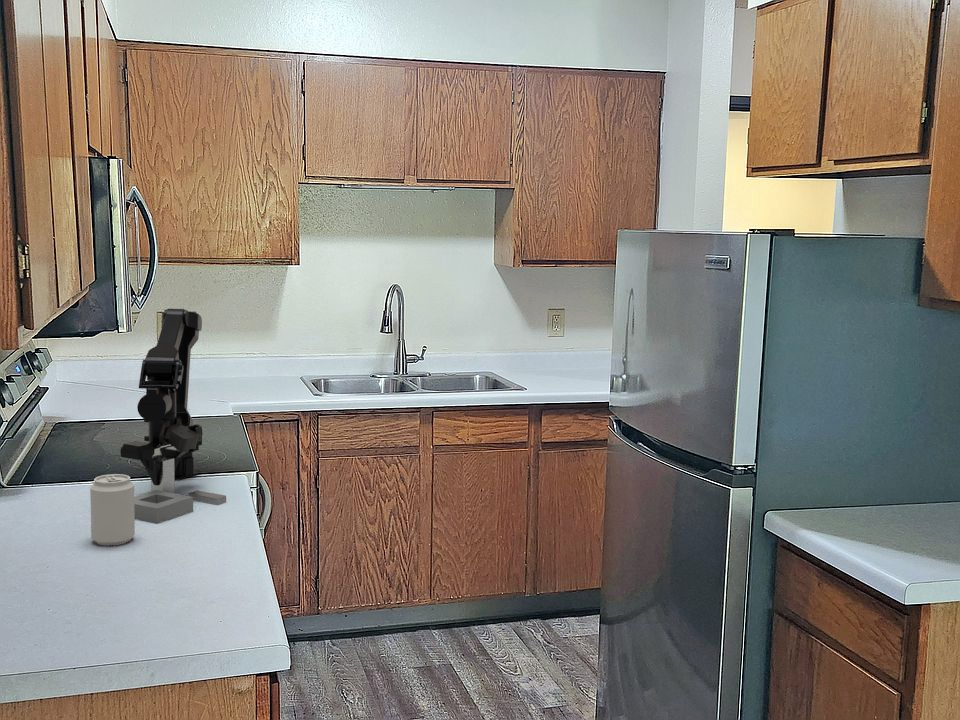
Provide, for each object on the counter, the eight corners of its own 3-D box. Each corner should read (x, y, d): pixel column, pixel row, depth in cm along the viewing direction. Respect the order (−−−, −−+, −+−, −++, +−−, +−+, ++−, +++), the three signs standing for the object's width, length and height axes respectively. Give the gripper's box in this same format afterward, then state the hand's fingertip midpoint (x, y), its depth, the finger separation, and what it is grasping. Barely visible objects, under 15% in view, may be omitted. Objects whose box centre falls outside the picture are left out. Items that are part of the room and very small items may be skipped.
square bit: (151, 495, 208) (150, 459, 207) (162, 492, 211) (162, 456, 210) (163, 497, 207) (162, 461, 206) (174, 494, 210) (174, 458, 209)
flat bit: (188, 501, 206) (188, 493, 206) (197, 498, 208) (197, 490, 208) (217, 507, 202) (217, 498, 202) (226, 503, 205) (226, 495, 205)
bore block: (119, 515, 193) (119, 500, 192) (156, 503, 202) (156, 490, 201) (157, 523, 188) (157, 508, 188) (193, 511, 197) (193, 496, 197)
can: (99, 549, 172) (98, 484, 171) (85, 538, 178) (84, 475, 176) (140, 542, 177) (140, 478, 175) (126, 532, 183) (125, 470, 181)
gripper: (158, 423, 195) (159, 498, 197) (221, 410, 211) (221, 479, 213) (118, 417, 200) (119, 490, 202) (182, 405, 216) (182, 472, 218)
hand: (162, 483), depth 209 cm, fingers closed on square bit, 3 cm apart
